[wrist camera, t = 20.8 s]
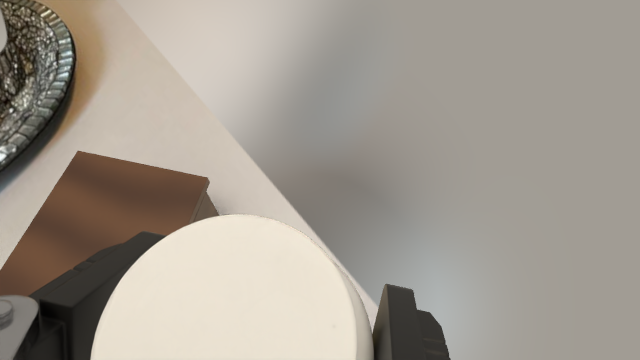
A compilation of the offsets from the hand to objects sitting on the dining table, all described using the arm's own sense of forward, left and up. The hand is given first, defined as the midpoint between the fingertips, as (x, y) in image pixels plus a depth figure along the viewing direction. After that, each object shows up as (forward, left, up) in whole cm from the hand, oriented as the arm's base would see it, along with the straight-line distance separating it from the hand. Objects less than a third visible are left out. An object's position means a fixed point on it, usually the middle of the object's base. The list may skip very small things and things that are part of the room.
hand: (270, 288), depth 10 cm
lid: (+10, -13, -17) cm, 23 cm away
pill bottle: (+1, +1, -8) cm, 8 cm away
